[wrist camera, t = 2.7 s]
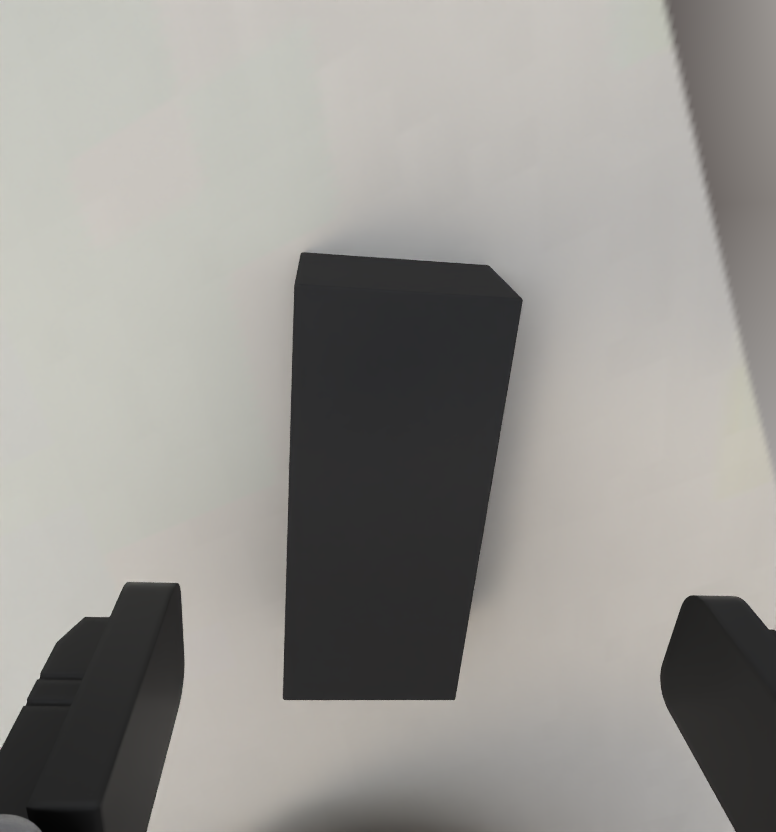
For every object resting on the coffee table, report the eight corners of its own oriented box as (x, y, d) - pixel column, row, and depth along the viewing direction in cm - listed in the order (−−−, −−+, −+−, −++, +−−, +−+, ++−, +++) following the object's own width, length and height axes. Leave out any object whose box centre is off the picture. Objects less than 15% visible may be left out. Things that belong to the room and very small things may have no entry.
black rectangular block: (438, 618, 23) (455, 700, 20) (289, 616, 22) (282, 700, 19) (489, 265, 18) (523, 299, 15) (300, 251, 17) (294, 283, 14)
